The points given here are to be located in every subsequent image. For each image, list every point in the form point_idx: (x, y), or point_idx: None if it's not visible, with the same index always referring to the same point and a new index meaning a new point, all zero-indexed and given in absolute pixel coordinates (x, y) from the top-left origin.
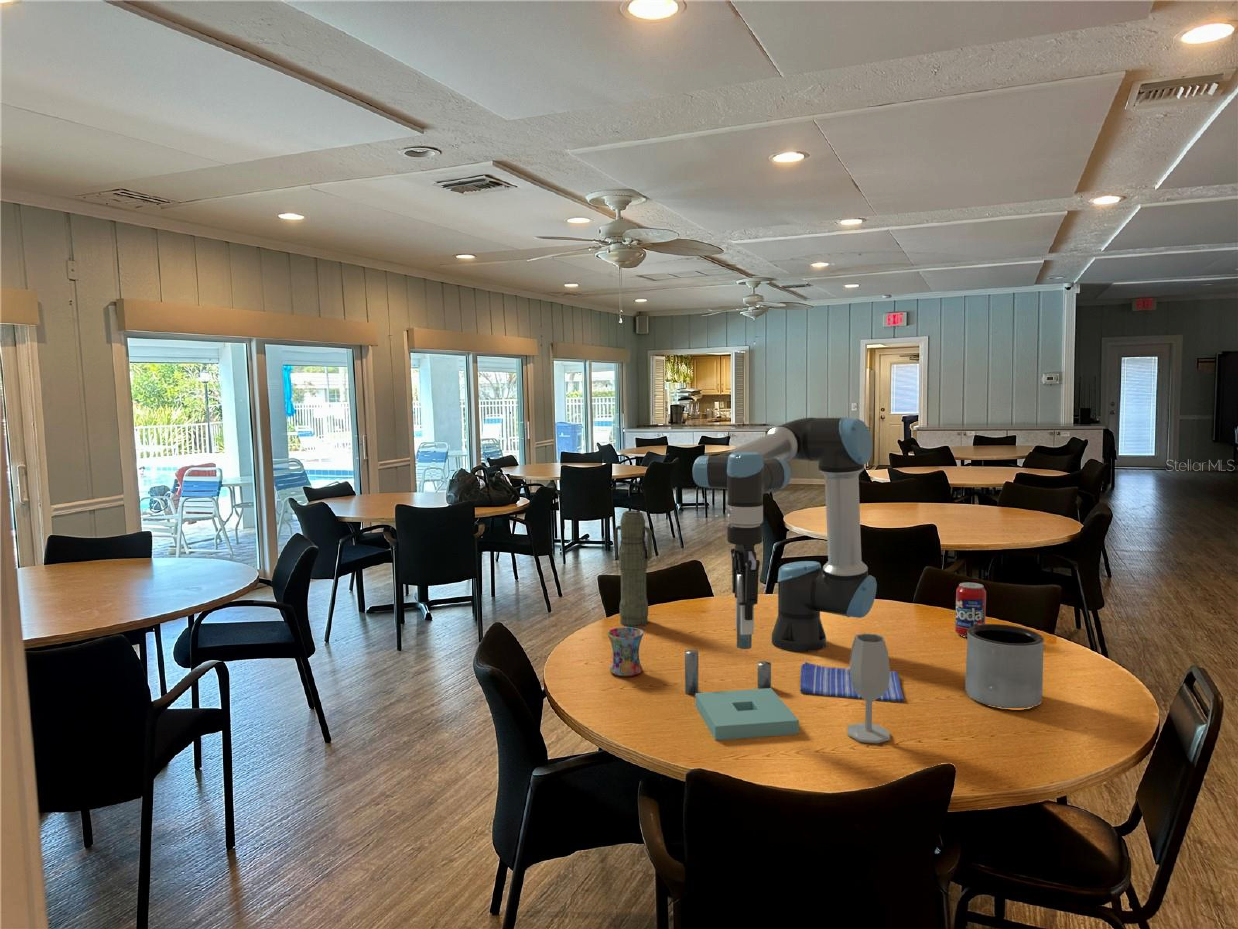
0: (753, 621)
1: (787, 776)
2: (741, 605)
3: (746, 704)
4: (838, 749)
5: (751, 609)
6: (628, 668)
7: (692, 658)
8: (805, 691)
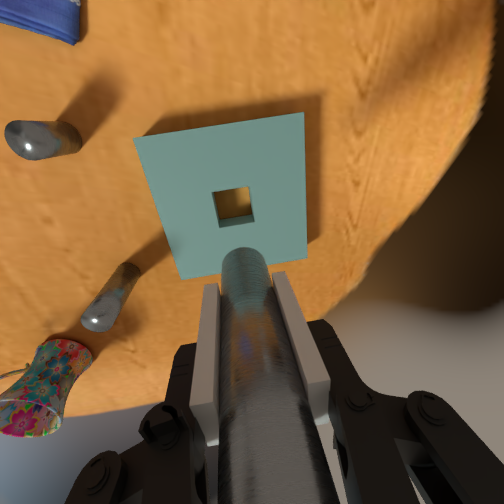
0: (298, 304)
1: (419, 166)
2: (325, 420)
3: (213, 200)
4: (366, 44)
5: (351, 369)
6: (81, 360)
7: (115, 313)
8: (77, 30)
